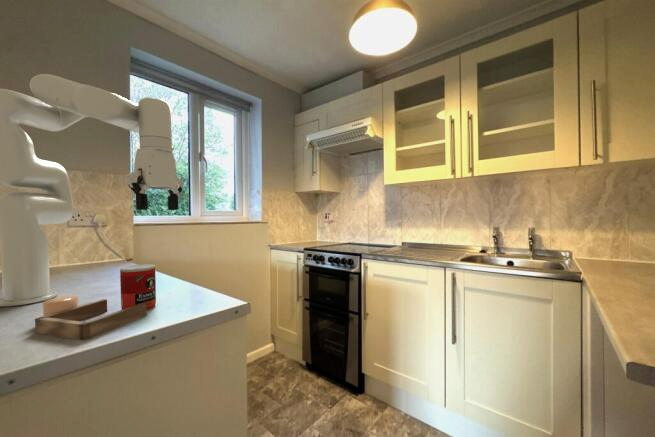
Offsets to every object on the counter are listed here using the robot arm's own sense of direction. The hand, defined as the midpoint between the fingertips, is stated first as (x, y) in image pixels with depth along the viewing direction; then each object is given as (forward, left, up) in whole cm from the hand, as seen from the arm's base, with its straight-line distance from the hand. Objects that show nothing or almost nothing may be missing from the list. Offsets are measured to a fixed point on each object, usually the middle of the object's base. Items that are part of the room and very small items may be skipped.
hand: (158, 209), depth 77 cm
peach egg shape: (-14, -15, -26) cm, 33 cm away
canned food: (-4, -3, -26) cm, 27 cm away
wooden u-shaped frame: (-4, -14, -26) cm, 30 cm away
